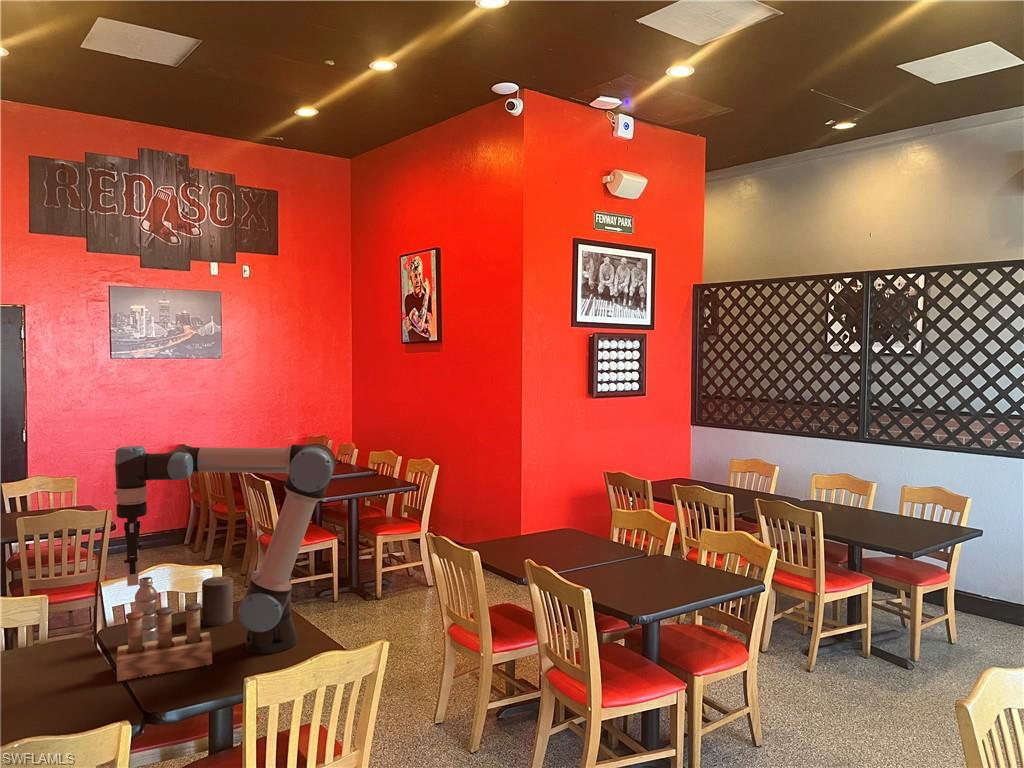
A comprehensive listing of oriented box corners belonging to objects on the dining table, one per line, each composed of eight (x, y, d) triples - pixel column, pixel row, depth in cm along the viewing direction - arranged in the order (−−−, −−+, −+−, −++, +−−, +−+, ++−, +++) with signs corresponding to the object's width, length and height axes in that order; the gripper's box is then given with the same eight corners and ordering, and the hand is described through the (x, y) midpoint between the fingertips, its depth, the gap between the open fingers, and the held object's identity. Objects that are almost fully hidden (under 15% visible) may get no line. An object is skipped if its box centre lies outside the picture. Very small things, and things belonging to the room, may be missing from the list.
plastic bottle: (134, 648, 220) (133, 583, 219) (136, 640, 226) (134, 577, 225) (158, 645, 222) (156, 580, 221) (159, 637, 229) (157, 574, 228)
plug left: (205, 639, 212) (204, 603, 212) (195, 645, 208) (194, 608, 208) (192, 638, 213) (191, 602, 213) (182, 644, 209) (181, 607, 209)
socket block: (209, 651, 217) (209, 631, 217) (212, 664, 209) (211, 643, 208) (118, 667, 207) (117, 646, 206) (117, 681, 198) (116, 659, 197)
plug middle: (176, 644, 209) (176, 607, 209) (166, 650, 205) (165, 613, 204) (163, 643, 210) (162, 606, 210) (153, 649, 206) (152, 611, 205)
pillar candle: (197, 626, 237) (196, 581, 237) (209, 615, 247) (208, 572, 246) (226, 626, 237) (226, 581, 237) (237, 615, 247) (237, 572, 246)
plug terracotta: (147, 649, 206) (146, 611, 205) (136, 655, 201) (135, 617, 201) (134, 647, 207) (133, 610, 206) (123, 654, 202) (122, 616, 202)
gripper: (118, 495, 211) (120, 569, 212) (114, 511, 190) (116, 593, 191) (146, 493, 215) (148, 565, 216) (146, 509, 193) (148, 589, 194)
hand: (133, 578), depth 203 cm, fingers open, 12 cm apart
